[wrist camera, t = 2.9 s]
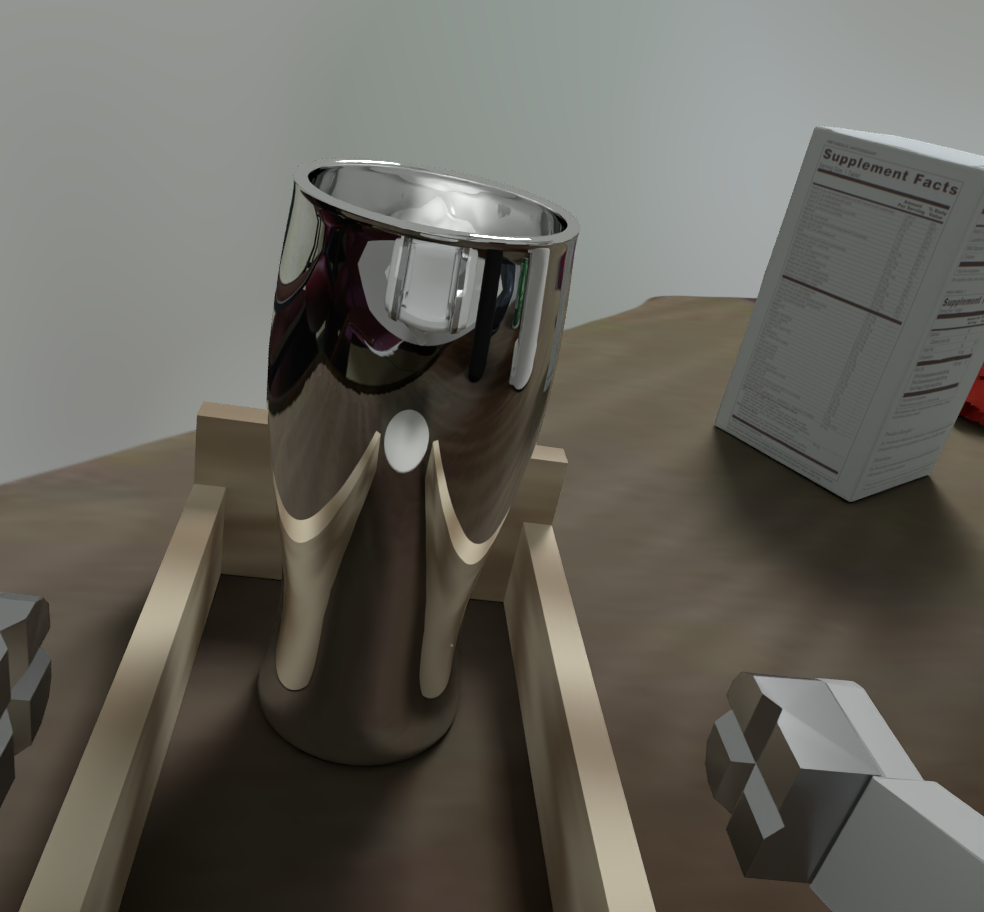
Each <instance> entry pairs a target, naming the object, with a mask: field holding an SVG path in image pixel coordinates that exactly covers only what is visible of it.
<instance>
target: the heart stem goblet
mask: <svg viewBox="0 0 984 912" xmlns="http://www.w3.org/2000/svg"><path fill="white" fill-rule="evenodd" d="M580 232H581V225H580V222H579V221H578V220H577V218H575V216H574V215H572V214H571V213H570V212H569V211H567V210H566V209H564V208H562V207H561V206H559V205H557V204H555V203H553V202H551V201H549V200H547V199H545V198H542V197H540V196H537V195H535V194H533V193H530V192H527V191H524V190H522V189H518V188H516V187H513V186H509V185H506V184H502V183H500V182H496V181H492V180H488V179H485V178H481V177H477V176H473V175H469V174H464V173H460V172H456V171H451V170H446V169H441V168H436V167H430V166H424V165H418V164H411V163H403V162H395V161H388V160H377V159H360V158H331V159H321V160H315V161H310V162H307V163H304V164H302V165H300V166H298V167H297V168H296V169H295V171H294V172H293V187H292V196H291V202H290V208H289V214H288V220H287V225H286V231H285V236H284V242H283V247H282V253H281V259H280V265H279V272H278V278H277V284H276V291H275V297H274V306H273V314H272V323H271V331H270V340H269V351H268V377H267V398H266V400H267V420H268V439H269V454H270V463H271V472H272V481H273V491H274V499H275V508H276V516H277V524H278V532H279V542H280V554H281V565H282V580H281V598H280V605H279V612H278V616H277V620H276V624H275V627H274V630H273V633H272V636H271V639H270V642H269V645H268V647H267V650H266V653H265V655H264V658H263V661H262V664H261V668H260V672H259V676H258V684H257V689H258V697H259V702H260V705H261V708H262V710H263V713H264V715H265V717H266V718H267V720H268V721H269V723H270V724H271V726H272V727H273V728H274V729H275V730H276V731H277V732H278V733H279V734H280V735H281V736H282V737H283V738H284V739H285V740H287V741H288V742H289V743H291V744H292V745H294V746H295V747H297V748H298V749H300V750H302V751H304V752H306V753H308V754H310V755H313V756H315V757H318V758H321V759H324V760H327V761H331V762H335V763H340V764H347V765H358V766H371V765H382V764H389V763H394V762H398V761H401V760H405V759H407V758H410V757H413V756H415V755H417V754H419V753H421V752H423V751H425V750H426V749H428V748H429V747H431V746H432V745H433V744H435V743H436V742H437V741H438V740H439V739H440V738H441V737H442V736H443V735H444V734H445V733H446V731H447V730H448V729H449V727H450V725H451V724H452V722H453V720H454V718H455V715H456V713H457V709H458V705H459V697H460V640H461V632H462V626H463V621H464V616H465V613H466V610H467V607H468V603H469V600H470V597H471V594H472V592H473V590H474V587H475V585H476V583H477V580H478V578H479V576H480V573H481V571H482V569H483V566H484V564H485V562H486V560H487V558H488V556H489V554H490V551H491V549H492V547H493V545H494V543H495V541H496V539H497V537H498V534H499V532H500V530H501V528H502V526H503V523H504V521H505V519H506V517H507V515H508V512H509V510H510V508H511V506H512V504H513V501H514V499H515V497H516V495H517V492H518V490H519V488H520V485H521V482H522V480H523V477H524V475H525V472H526V470H527V467H528V464H529V462H530V459H531V457H532V454H533V452H534V449H535V446H536V444H537V440H538V437H539V433H540V430H541V426H542V423H543V419H544V416H545V412H546V409H547V405H548V402H549V398H550V394H551V389H552V385H553V380H554V375H555V371H556V366H557V361H558V356H559V352H560V347H561V341H562V335H563V329H564V323H565V317H566V311H567V305H568V298H569V291H570V283H571V277H572V270H573V264H574V258H575V252H576V247H577V242H578V237H579V235H580Z"/></svg>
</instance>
